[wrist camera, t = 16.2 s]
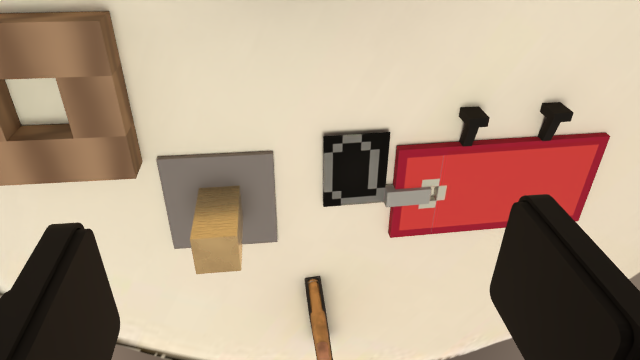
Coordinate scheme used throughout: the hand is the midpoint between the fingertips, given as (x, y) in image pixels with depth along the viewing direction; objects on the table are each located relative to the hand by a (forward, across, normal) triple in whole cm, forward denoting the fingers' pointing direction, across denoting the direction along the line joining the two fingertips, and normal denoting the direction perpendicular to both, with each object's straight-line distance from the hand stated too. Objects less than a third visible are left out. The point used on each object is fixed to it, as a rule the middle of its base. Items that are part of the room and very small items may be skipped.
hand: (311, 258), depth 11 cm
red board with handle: (+34, -20, +19) cm, 44 cm away
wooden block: (+33, +6, +21) cm, 39 cm away
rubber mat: (+33, +6, +21) cm, 40 cm away
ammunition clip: (+34, -4, +38) cm, 51 cm away
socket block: (+33, +20, +9) cm, 40 cm away
